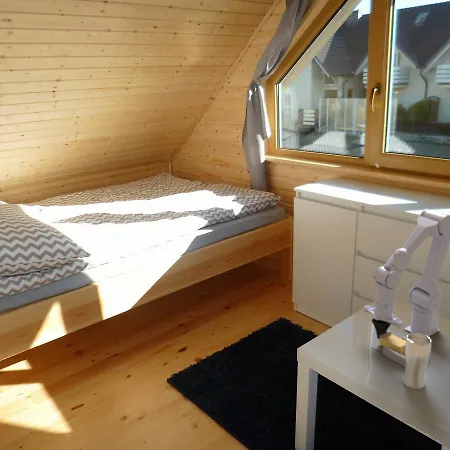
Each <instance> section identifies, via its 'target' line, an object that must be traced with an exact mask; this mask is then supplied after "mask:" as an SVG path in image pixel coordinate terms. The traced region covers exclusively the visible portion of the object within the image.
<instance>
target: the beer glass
mask: <svg viewBox="0 0 450 450" xmlns="http://www.w3.org/2000/svg"><path fill="white" fill-rule="evenodd" d="M406 338H407V340H406V344H405V352H404V354H405V368H404V370H405V371H404V375H403V378H402V383H403V384H404V385H405V386H406V387H407V388H409V389H412V390H422V389H424V387H425V385H426V382H425V381H426V380H425V374H426V371H427V368H428V366H429V363H430V360H431V359H430V358H431V352H432V339H431V338H430V336H429V337H428V336H426V335H424V334H420V333H411V332H410V333H409V334H407V336H406Z"/></svg>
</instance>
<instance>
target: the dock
mask: <svg viewBox="0 0 450 450" xmlns="http://www.w3.org/2000/svg"><path fill="white" fill-rule="evenodd" d="M401 339H403V340H405V341H406V340H407V336H405V335H403V336H402V337H401ZM371 349H374V350H375V351H377V352H378V353H381V354H382V356H383V357H384V358H386V359H388V360H389V361H392V362H394V363H395V364H398V365H399V366H401V367H402V368H404V369H405V354H404V352H403V353H401V354H399V353H397V352H395V351H393V350H392V349H390V348H388V347H386V346H384V347H383V348H382V345H380V344H379V343H378V344H376V345H373V346H372V347H371Z"/></svg>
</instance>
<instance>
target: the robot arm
mask: <svg viewBox="0 0 450 450" xmlns="http://www.w3.org/2000/svg"><path fill="white" fill-rule="evenodd" d="M430 237H432V240H431V243H430V247H429V250H428V254H427V257H426V259H425V260H426V261H425V265H424V268H423V270H422V271H423V272H422V275H421V278H420V280H419V281H416V282H414V283H413V284H412V288H411V289H410V290H409V292H408V301H409V302H410V306H411V307H412V308H411V318H410V322H409V323H410V325H408V326H406V327H405V328H404V330H405V331H407V332H409V333H410V334H411V333H420V334H424V335H426V336H428V337H429V338H430V336H432V335H434V334H436V333H437V332H440V328H438V325H439V318H440V317H439V316H440V312H439V309H440V308H441V306H442V297H443V292H442V291H441V289H440V287H439V286H438V283H439V280H440V277H441V273H442V269H443V266H444V263H445V260H446V256H447V253H448V250H449V247H450V214H445V213H443V212H439V211H436V210H433V209H431V208H425V209H423V210H422V211H421V213H420V214H419V216H418V217H417V218H416V226H415V228H414V229H413V231H412V232H411V234H410V236H409V237H408V238H407V240H406V242H405V243H404V245H403V246H402V248H397V249H395V251H394V253H392V255H391V256H390V257H389V258H388V259H387V261H386V263H384V265H383V266H379V267H378V268H377V269H376V270H375V272H374V274H373V277H372V278H373V280H374V283H375V285H374V286H375V288H376V289H375V301H374V306H370V305H368V304H366V305H365V306H363V308H362V309H363V311H362V312H364V313H367V314H370V315H372V319H371V322H372V323H371V324H372V325H373V327H374V329H375V333H376V338H377V340H380V335H381V334H383V333H385V332H387V331H388V329H389V328H390V326H392V325H393V326H394V327H396V328H397V329H399V330H400V329H402V328H403V327H404V322H405V321H402V320H401V319H400V318H398V317H397V316H396V315H394V314H393V309H394V302H395V301H394V300H395V291H396V287H397V286H398V285H399V284H400V282H401V278H402V275H403V271H404V270H405V269H406V268H407V267H408V265H409V264H410V263H411V261H412V260H413V258H412V255H413V253H414V252H415V251H416V250H417V249H418V248H419V247H420V246H421V245H422V244H423V243H424V241H425V240H426V239H427V238H430Z"/></svg>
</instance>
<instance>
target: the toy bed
mask: <svg viewBox="0 0 450 450" xmlns="http://www.w3.org/2000/svg"><path fill="white" fill-rule="evenodd" d="M378 340H379V342H378V344H380V345H382V348H383V347H384V346H386V347H388V348H390V349H392V350H393V351H395V352H397V353H399V354H401V353H403V352H405V344H406V341H405V340H403V339H402V337H398V336H397V335H395V334H392V331H391V330H387V331H386V332H385V333H383V334H381V335H380V339H378Z"/></svg>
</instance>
